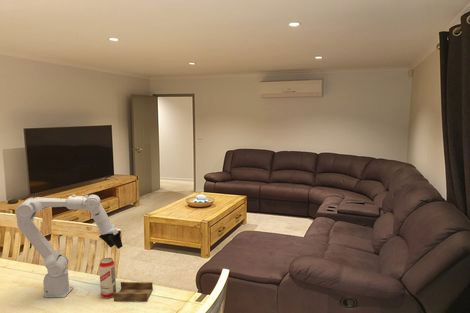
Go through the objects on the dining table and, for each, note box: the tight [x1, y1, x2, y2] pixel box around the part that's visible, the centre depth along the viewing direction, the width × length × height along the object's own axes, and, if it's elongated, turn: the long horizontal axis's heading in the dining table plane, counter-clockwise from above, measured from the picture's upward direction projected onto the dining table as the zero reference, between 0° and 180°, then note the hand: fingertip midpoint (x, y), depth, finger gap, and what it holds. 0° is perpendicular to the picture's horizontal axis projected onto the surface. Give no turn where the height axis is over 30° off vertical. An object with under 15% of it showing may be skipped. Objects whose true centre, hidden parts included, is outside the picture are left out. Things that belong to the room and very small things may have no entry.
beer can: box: [98, 257, 117, 299], centre depth 153 cm, size 6×6×16 cm
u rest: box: [113, 281, 154, 303], centre depth 154 cm, size 14×10×4 cm
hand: (116, 246), depth 159 cm, fingers open, 7 cm apart
